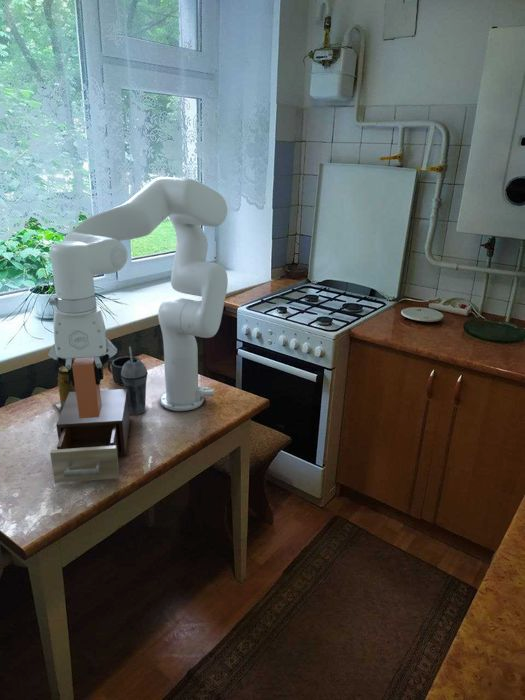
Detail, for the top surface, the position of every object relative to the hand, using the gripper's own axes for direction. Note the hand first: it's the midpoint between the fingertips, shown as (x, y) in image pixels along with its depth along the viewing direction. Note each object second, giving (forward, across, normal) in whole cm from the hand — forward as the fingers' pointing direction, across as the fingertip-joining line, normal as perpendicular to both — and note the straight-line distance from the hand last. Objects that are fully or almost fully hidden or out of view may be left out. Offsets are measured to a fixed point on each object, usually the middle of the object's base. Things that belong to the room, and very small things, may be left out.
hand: (87, 382), depth 109 cm
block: (+8, 0, 0) cm, 8 cm away
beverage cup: (+22, +8, +25) cm, 34 cm away
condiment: (+22, -10, +29) cm, 38 cm away
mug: (+23, +3, +45) cm, 50 cm away
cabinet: (+22, -1, +11) cm, 24 cm away
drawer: (+21, -1, -2) cm, 21 cm away
